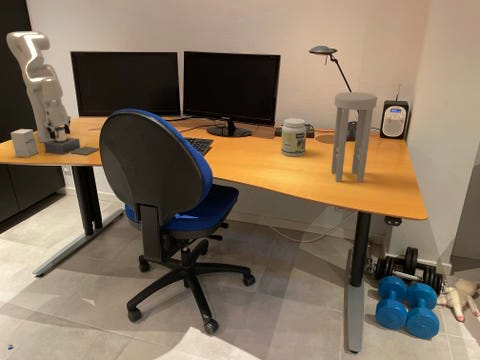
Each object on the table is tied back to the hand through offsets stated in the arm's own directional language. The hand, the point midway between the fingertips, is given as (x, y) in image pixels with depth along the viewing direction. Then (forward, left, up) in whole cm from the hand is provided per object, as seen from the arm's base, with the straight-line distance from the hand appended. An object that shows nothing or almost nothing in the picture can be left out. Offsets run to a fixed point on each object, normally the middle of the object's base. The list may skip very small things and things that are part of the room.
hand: (60, 136), depth 195 cm
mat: (+13, +2, -8) cm, 15 cm away
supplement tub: (+116, +35, -8) cm, 121 cm away
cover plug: (0, 0, -8) cm, 8 cm away
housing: (0, 0, -8) cm, 8 cm away
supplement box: (-12, -12, -8) cm, 19 cm away
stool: (+145, +13, -8) cm, 145 cm away
